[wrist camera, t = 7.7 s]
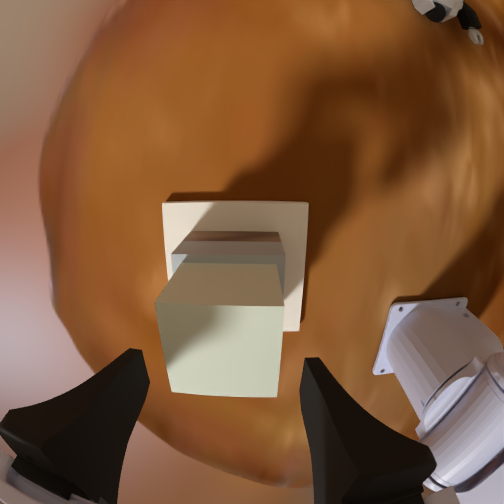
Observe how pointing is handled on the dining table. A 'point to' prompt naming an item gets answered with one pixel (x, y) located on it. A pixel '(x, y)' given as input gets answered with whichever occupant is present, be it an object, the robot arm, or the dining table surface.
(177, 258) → the light grey flat block
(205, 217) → the cream board
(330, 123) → the dining table surface
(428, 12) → the robot toy
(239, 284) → the sage block
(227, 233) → the walnut slab
